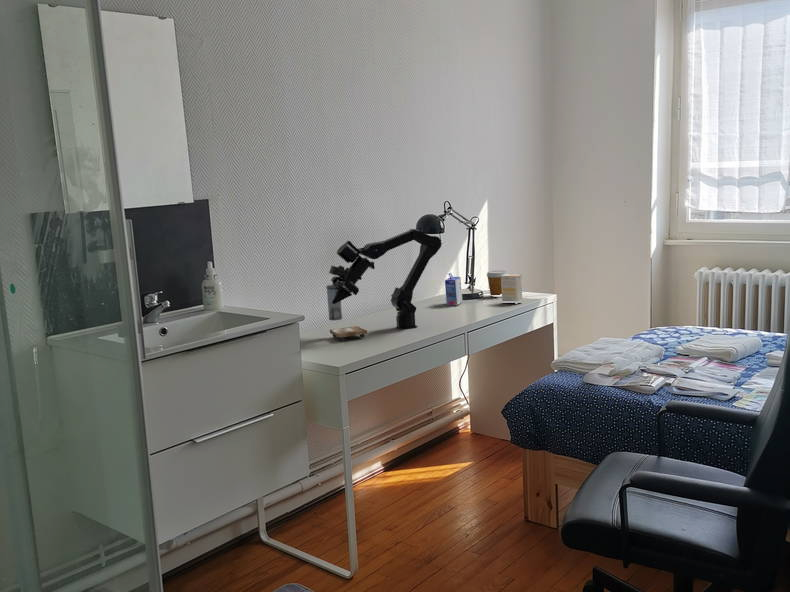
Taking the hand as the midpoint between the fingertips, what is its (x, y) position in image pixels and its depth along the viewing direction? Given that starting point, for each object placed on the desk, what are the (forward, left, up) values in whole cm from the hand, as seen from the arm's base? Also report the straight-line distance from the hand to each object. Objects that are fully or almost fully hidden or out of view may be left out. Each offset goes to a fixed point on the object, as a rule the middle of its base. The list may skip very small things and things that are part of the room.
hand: (330, 302), depth 288 cm
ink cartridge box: (-70, -34, -14) cm, 79 cm away
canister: (-1, 0, -7) cm, 7 cm away
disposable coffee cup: (-96, -39, -14) cm, 105 cm away
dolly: (-4, +5, -13) cm, 15 cm away
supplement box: (-91, -18, -14) cm, 94 cm away
